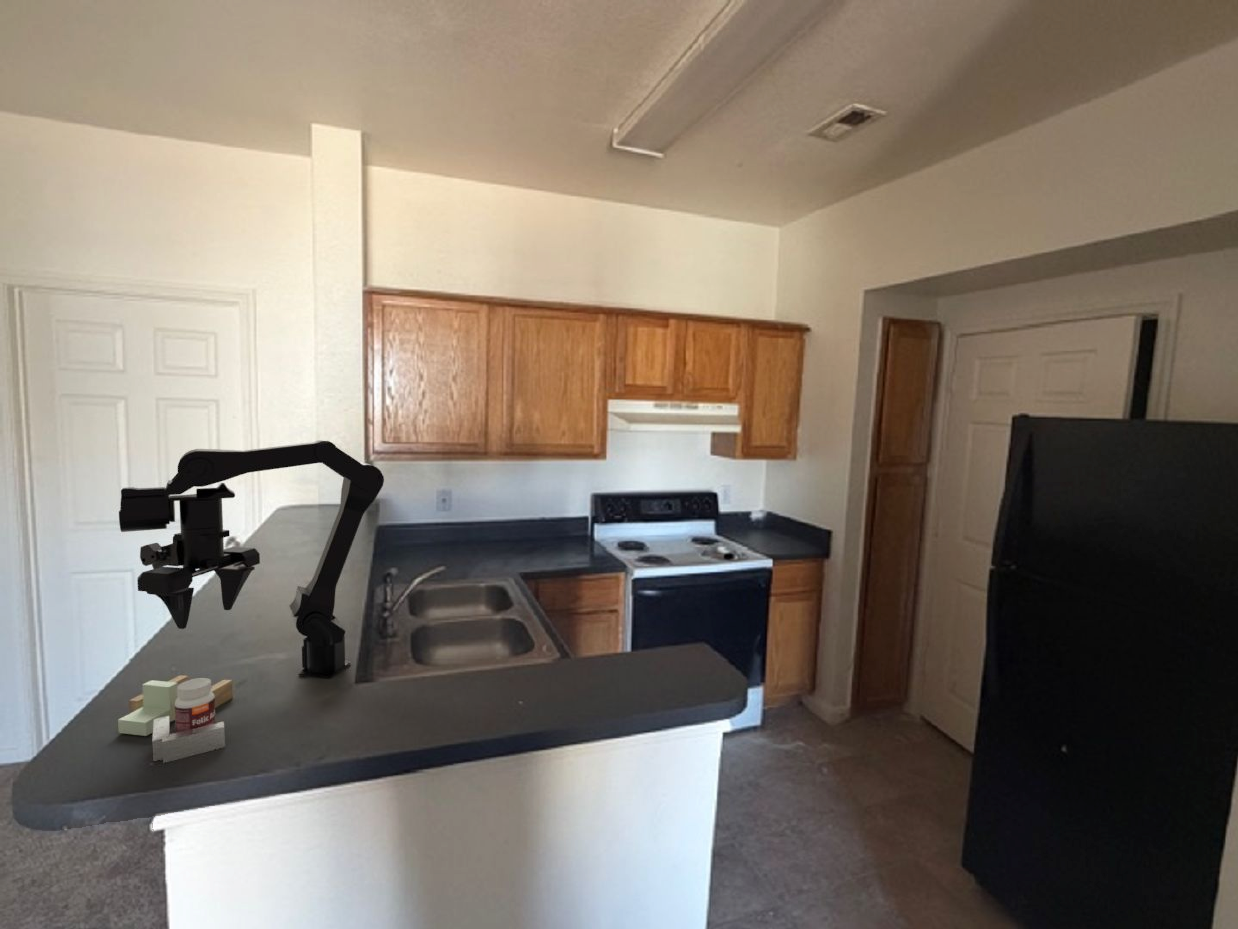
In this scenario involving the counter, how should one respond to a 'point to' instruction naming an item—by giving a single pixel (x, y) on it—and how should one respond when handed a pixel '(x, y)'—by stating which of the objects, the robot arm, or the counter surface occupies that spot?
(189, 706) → the pill bottle
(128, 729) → the block
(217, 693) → the channel
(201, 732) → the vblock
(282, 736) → the counter surface
